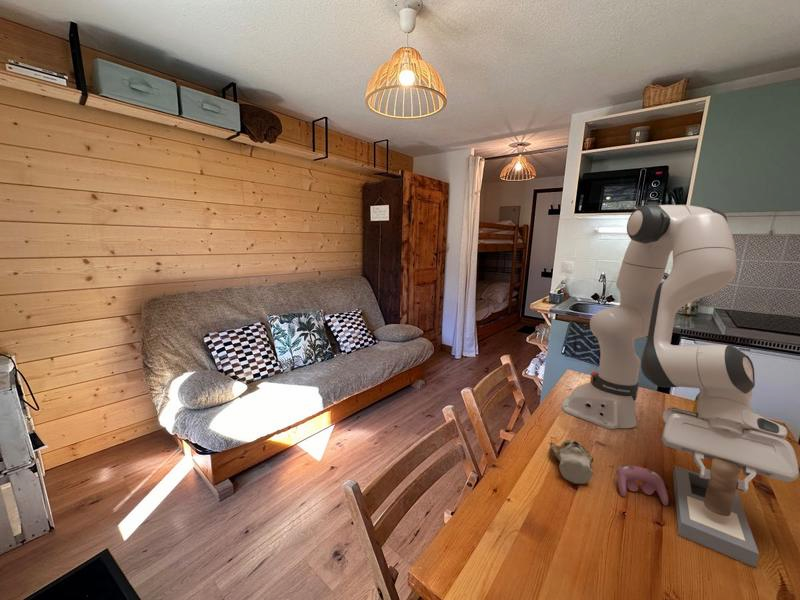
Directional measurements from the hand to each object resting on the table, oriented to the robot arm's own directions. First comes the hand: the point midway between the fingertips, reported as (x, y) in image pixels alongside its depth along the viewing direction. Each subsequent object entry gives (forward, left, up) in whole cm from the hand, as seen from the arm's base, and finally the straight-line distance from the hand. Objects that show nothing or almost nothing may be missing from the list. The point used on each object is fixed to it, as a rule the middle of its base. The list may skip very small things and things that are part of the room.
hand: (722, 484), depth 66 cm
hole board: (0, +6, -11) cm, 13 cm away
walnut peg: (0, +1, -6) cm, 6 cm away
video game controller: (-12, +4, -12) cm, 17 cm away
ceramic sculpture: (-27, +3, -12) cm, 29 cm away
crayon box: (+2, +52, -12) cm, 53 cm away
